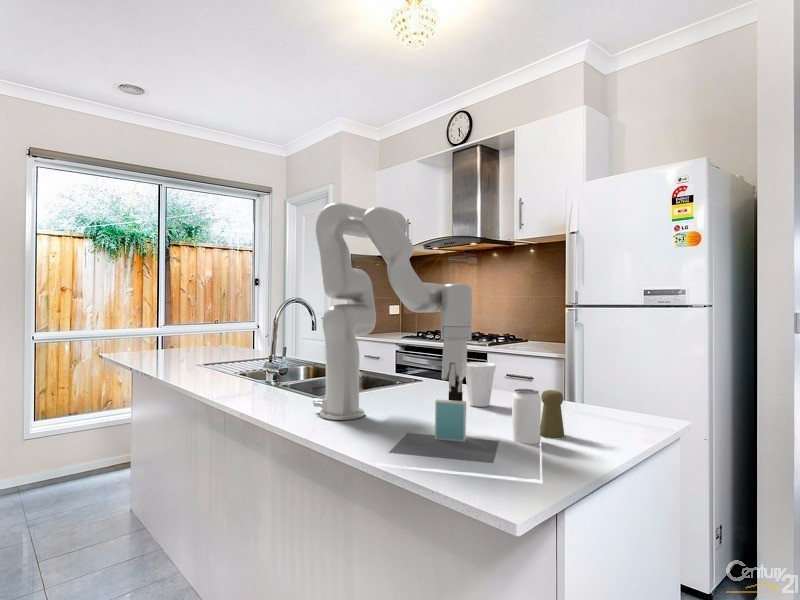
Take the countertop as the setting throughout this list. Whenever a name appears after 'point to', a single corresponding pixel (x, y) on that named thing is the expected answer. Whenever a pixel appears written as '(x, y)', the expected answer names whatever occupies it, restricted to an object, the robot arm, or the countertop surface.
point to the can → (526, 416)
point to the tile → (450, 420)
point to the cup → (479, 382)
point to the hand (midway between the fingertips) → (455, 407)
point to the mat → (447, 448)
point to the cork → (552, 415)
